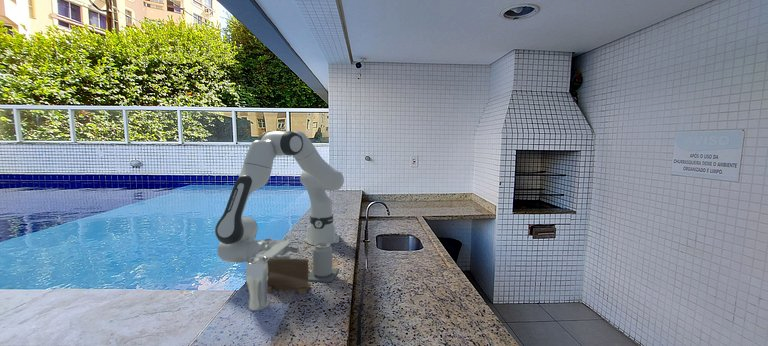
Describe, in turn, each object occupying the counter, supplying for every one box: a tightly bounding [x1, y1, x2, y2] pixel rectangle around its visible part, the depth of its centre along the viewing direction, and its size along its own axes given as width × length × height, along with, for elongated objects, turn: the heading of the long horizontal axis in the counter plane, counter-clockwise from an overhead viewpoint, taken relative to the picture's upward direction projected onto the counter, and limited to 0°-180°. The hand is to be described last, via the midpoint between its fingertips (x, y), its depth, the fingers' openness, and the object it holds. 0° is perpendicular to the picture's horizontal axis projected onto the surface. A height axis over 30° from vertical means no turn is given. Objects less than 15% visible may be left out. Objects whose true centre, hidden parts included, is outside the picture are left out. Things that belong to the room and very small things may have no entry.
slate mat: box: [308, 268, 339, 283], centre depth 122 cm, size 11×10×1 cm
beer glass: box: [245, 256, 270, 312], centre depth 97 cm, size 7×7×15 cm
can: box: [312, 243, 333, 277], centre depth 121 cm, size 8×8×12 cm
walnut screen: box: [267, 258, 311, 295], centre depth 109 cm, size 6×14×11 cm, turn 86°
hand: (294, 253), depth 122 cm, fingers open, 8 cm apart
